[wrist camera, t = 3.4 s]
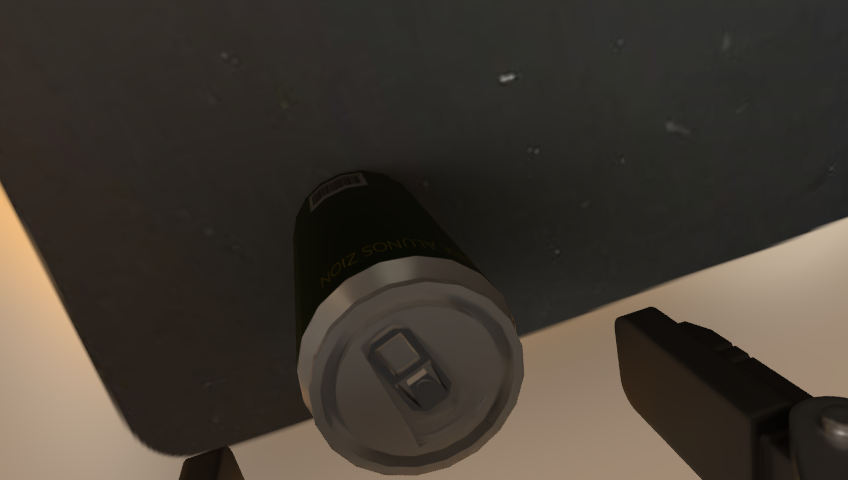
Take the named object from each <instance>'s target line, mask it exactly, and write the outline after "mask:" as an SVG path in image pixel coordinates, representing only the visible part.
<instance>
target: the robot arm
mask: <svg viewBox="0 0 848 480" xmlns="http://www.w3.org/2000/svg"><path fill="white" fill-rule="evenodd" d="M615 335H616V343H617V352H618V360H619V369H620V376H621V382H622V386H623V389H624V392H625V394H626V396H627V398H628V400H629V402H630V404H631V405H632V406H633V408H634V409H635V410H636V411H637V412H638V413H639V414H640V415H641V416H642V418H644V420H645V421H646V422H647V423H648V424H649V425H650V426H651V427H652V428H653V429H654V430H655V431H656V432H657V433H658V434H659V435H660V436H661V437H662V438H663V439H664V440H665V441H666V442H667V444H669V445H670V447H671V448H672V449H673V450H674V451H675V452H676V453H677V454H678V455H679V456H680V457H681V458H682V459H683V460H684V461H685V462H686V463H687V464H688V465H689V466H690V467H691V468H692V469H693V471H695V473H696V474H697V475H698V476H699V477H700V478H701V479H702V480H848V398H843V397H835V396H823V397H813V396H811V395H809V394H808V393H807V392H805V391H804V390H802V389H800V388H799V387H798V386H796V385H795V384H793V383H791V382H790V381H788V380H787V379H785V378H784V377H782V376H781V375H779V374H778V373H776V372H775V371H773V370H772V369H770V368H769V367H767V366H766V365H764V364H762V363H761V362H759V361H758V360H757V359H755V358H753V357H752V358H750V357H749V355H748V354H747V353H746V352H744V351H743V350H741V349H740V348H738V347H737V346H734V347H733V346H732V343H731V342H729V341H728V340H726V339H725V338H723V337H722V336H720V335H719V334H717V333H715V332H714V331H712V330H711V329H707V328H704V327H701V326H698V325H694V324H692V323H688V322H685V321H684V322H681V323H677V322H675V321H674V320H672V319H671V318H669V317H668V316H667V315H665V314H664V313H662V312H661V311H659V310H658V309H656V308H654V307H648V308H645V309H642V310H639V311H636V312H633V313H630V314H627V315H624V316H621V317H618V318H617V319H616V321H615ZM179 480H244V477H243V475H242V473H241V471H240V469H239V466H238V464H237V462H236V459H235V457H234V455H233V453H232V451H231V450H230V448H229V447H227V446H224V447H221V448H218V449H215V450H212V451H209V452H206V453H203V454H200V455H197V456H194V457H191V458H188V459H186V460H185V461H184V463H183V466H182V470H181V474H180V477H179Z"/></svg>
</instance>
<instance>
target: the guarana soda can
mask: <svg viewBox="0 0 848 480" xmlns="http://www.w3.org/2000/svg"><path fill="white" fill-rule="evenodd" d="M293 245H294V280H295V315H296V350H297V373H298V377H299V382H300V386H301V391H302V396H303V400H304V403H305V404H306V406H307V407H308V409H309V410H310V412H311V413H312V415H313V416H314V421H315V425H316V426H317V427H318V429H319V430H320V432H321V434H322V435H323V437H324V438H325V440H326V441H327V442H328V444H329V445H330V447H331V448H332V449H333V450H334V451H335V452H337V453H338V454H340V455H341V456H342V457H344V458H345V459H347V460H348V461H349V462H351V463H352V464H354V465H355V466H357V467H360V468H364V469H367V470H371V471H374V472H377V473H380V474H383V475H420V474H424V473H428V472H432V471H436V470H440V469H444V468H447V467H450V466H451V465H453V464H455V463H457V462H459V461H461V460H463V459H464V458H466V457H468V456H470V455H471V454H473V453H475V452H477V451H478V450H479V449H480V448H481V447H482V446H483V445H484V444H486V443H487V442H488V440H490V439H491V438H492V437H493V436H494V435H495V434H496V433H497V432H498V431H499V430H500V429H501V427H502V426H503V424H504V423H505V421H506V420H507V418H508V416H509V414H510V413H511V411H512V410H513V408H514V407H515V405H516V403H517V399H518V396H519V392H520V388H521V384H522V381H523V377H524V366H523V350H522V345H521V342H520V340H519V338H518V335H517V333H516V330H515V322H514V320H513V318H512V315H511V313H510V311H509V309H508V306H507V304H506V302H505V300H504V297H503V295H502V294H501V293H500V292H499V291H498V290H497V289H496V288H495V287H494V285H493V284H492V283H491V282H490V281H489V280H488V279H487V278H486V277H485V275H484V274H483V273H482V272H481V271H480V270H479V269H478V268H477V267H476V265H475V264H474V263H473V262H472V261H471V260H470V259H469V258H468V257H467V255H466V254H465V253H464V252H463V251H462V250H461V249H460V248H459V247H458V245H457V244H456V243H455V242H454V241H453V240H452V239H451V238H450V237H449V235H448V234H447V233H446V232H445V231H444V230H443V229H442V228H441V227H440V225H439V224H438V223H437V222H436V221H435V220H434V219H433V218H432V216H431V215H430V214H429V213H428V212H427V211H426V210H425V209H424V208H423V206H422V205H421V204H420V203H419V202H418V201H417V200H416V199H415V198H414V197H413V196H412V194H411V193H410V192H409V191H408V190H407V189H406V188H405V187H404V186H403V185H402V184H401V183H399V182H397V181H395V180H393V179H391V178H389V177H387V176H385V175H383V174H380V173H374V172H367V171H356V172H349V173H343V174H339V175H337V176H335V177H333V178H331V179H329V180H327V181H325V182H323V183H321V184H320V185H319V186H318V187H317V188H316V189H315V190H314V191H313V192H312V193H311V194H310V195H309V196H308V197H307V198H306V199H305V201H304V203H303V205H302V207H301V209H300V211H299V213H298V215H297V217H296V222H295V229H294V236H293Z"/></svg>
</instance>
